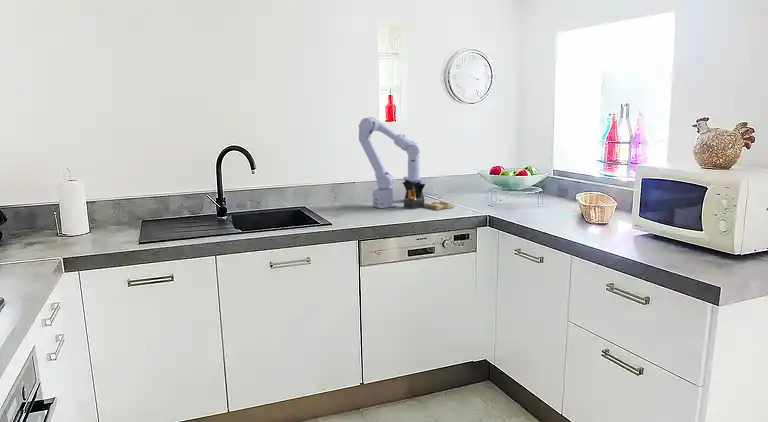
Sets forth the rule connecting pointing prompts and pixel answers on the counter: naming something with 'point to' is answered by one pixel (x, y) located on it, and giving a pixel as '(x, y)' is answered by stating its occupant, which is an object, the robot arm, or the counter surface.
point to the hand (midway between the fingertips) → (413, 197)
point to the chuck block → (414, 203)
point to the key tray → (438, 205)
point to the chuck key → (411, 194)
